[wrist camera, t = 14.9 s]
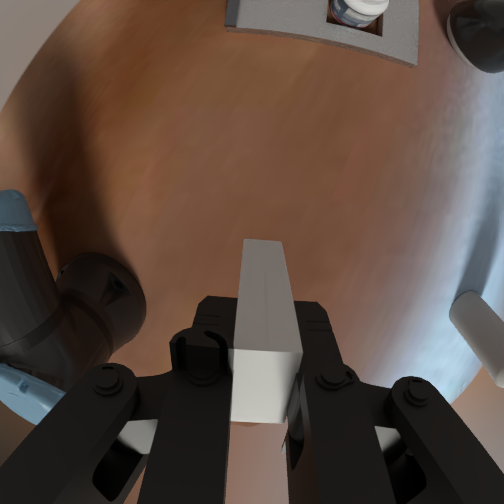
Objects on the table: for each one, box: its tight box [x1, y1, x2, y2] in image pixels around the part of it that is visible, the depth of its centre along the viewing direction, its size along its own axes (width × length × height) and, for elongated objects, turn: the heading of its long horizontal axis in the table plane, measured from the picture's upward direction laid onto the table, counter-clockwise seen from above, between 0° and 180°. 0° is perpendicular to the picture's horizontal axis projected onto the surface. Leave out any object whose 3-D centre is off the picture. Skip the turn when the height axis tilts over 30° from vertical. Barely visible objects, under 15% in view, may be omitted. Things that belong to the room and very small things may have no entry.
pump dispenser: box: [447, 0, 504, 73], centre depth 18 cm, size 10×10×15 cm
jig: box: [224, 0, 419, 68], centre depth 24 cm, size 22×11×3 cm, turn 84°
